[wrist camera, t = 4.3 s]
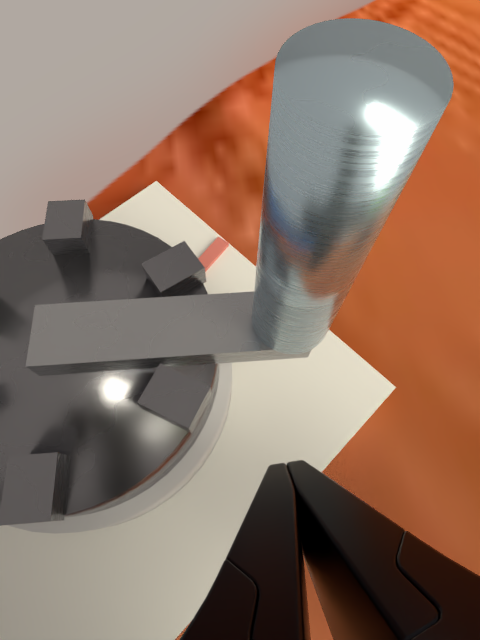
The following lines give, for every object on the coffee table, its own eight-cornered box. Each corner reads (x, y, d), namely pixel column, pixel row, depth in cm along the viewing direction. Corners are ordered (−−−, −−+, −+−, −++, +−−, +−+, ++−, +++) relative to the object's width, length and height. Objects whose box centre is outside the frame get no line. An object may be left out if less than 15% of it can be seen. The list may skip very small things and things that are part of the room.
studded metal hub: (-94, 533, 14) (-1277, 626, 3) (-28, 258, 18) (-395, -93, 8) (334, 497, 14) (632, 466, 4) (293, 239, 19) (369, -107, 8)
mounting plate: (388, 393, 19) (413, 374, 17) (69, 755, 14) (29, 816, 11) (159, 193, 24) (149, 153, 22) (-142, 400, 19) (-206, 382, 16)
